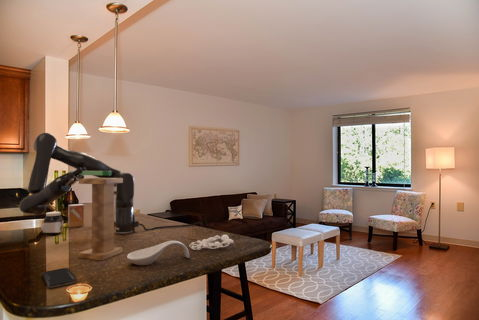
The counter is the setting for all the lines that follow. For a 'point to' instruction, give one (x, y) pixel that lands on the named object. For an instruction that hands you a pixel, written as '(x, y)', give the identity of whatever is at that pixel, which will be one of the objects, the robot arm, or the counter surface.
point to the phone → (59, 277)
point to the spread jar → (52, 224)
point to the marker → (94, 172)
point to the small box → (76, 215)
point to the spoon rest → (153, 253)
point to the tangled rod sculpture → (209, 241)
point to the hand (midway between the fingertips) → (83, 169)
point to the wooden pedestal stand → (102, 219)
